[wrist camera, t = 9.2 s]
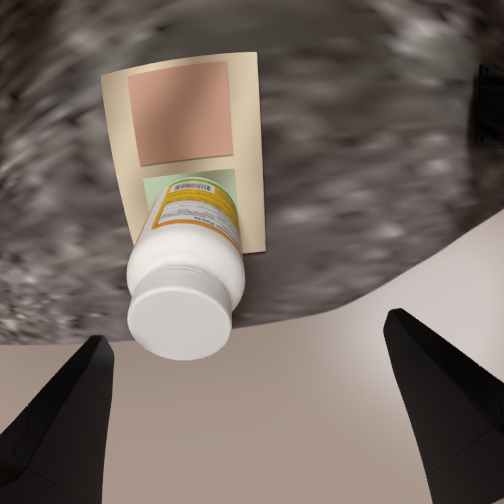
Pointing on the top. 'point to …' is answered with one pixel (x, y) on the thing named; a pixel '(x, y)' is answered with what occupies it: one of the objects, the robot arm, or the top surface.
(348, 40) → the top surface
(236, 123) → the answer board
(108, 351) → the robot arm
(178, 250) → the supplement bottle
